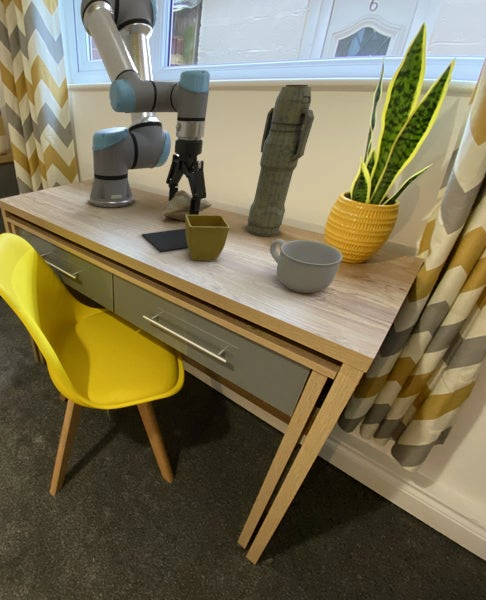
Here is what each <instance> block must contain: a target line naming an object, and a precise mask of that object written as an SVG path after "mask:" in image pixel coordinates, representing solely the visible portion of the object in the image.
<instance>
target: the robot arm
mask: <svg viewBox="0 0 486 600" xmlns="http://www.w3.org/2000/svg"><path fill="white" fill-rule="evenodd" d="M157 15H158V3H157V0H81V3H80V18H81V23H82V25H83V28H84V30H85V32H86V34H88V35H89V36H90V37H91V38H92V40H93V43H94V45H95V47H96V50H97V52H98V54H99V57H100V58H101V61H102V64H103V66H104V67H105V68H104V69H105V70H106V74H107V75H108V77H109V80H110V82H111V84H110V87H109V93H108V94H109V95H108V97H109V100H110V106H111V109H112V110H113V111H114V112H116V113H124V114H130V120H131V124H130V125H129V126H128V128H127V127H126V126H125V127H124V126H118V127H109V128H104V129H99V130H98V131H96V132H94V133H93V135H92V148H91V150H92V161H93V183H92V187H91V191H90V194H89V201H90V202H89V203H90V204H91V205H93V206H96V207H100V208H123V207H126V206H129V205H131V204H133V202H134V195H133V192H132V189H131V185H130V182H129V170H143V169H154V168H160V167H162V166H164V165H165V164H166V163H167V161H168V159H169V157H170V153H171V149H172V148H171V147H172V140H171V135H170V133H169V131H167V130H165V129H163V123H162V121H161V120H159V119H158V117H157V113H176V115H177V117H176V125H175V129H176V130H175V137H177V138H176V139H175V142H174V154H172V157H171V164H170V167H169V171H168V174H167V177H166V180H165V183H166V185H168V189H169V190H168V202H169V201H170V200H172V198H173V196H174V194H175V193H176V192H178V191H179V183H180V182H181V180H182V177H183V176H185V178H186V179H187V181H188V184H189V189H190V192H191V193H190V194H191V195H192V198H191V202H190V212H189V215H200V212H199V210H200V202H201V199H202V200H204V199H207V188H206V181H205V174H204V173H205V172H204V168H205V167H204V165H205V164H204V163H205V161H204V160H198V156H199V155H201V154H202V153H203V144H204V141H203V139H202V138H204V136H205V126H206V117H207V109H208V102H209V94H210V79H211V74H210V72H209V71H208V70H205V69H185V70H182V71H181V73H180V76H179V80H154V79H153V72H152V62H151V54H150V53H151V51H150V44H149V39H150V38H151V36H152V34H153V31H154V30H155V27H156V24H157V20H158V19H157V18H158V17H157Z"/></svg>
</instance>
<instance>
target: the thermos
mask: <svg viewBox="0 0 486 600" xmlns="http://www.w3.org/2000/svg"><path fill="white" fill-rule="evenodd" d="M311 103H312V87H311V86H309V85H308V84H286V85H285V86H282V87H281V89H280V91H279V92H278V95H277V97H276V99H275V102H274V107H271V108H270V110H269V111H268V112H267V115H266V120H265V123H264V124H265V125H264V130H263V136H262V138H261V139H262V140H261V146H260V153H261V157H260V161H259V166H260V170H259V176H258V180H257V183H256V190H255V194H254V199H253V202H251V205H250V208H249V213H248V217H247V226H246V231H247V232H248V233H250V234H252V235H254V236H259V237H276V236H278V235H279V232H280V228H281V226H282V223H283V221H284V216H285V212H286V207H285V203H286V200H287V196H288V193H289V189H290V185H291V181H292V178H293V174H294V170H296V168H297V166H298V163H299V160H300V159H301V158H302V157H303V156H304V154H305V150H306V146H307V144H308V140H309V136H310V134H311V130H312V127H313V123H314V120H315V115H314V112H313V110H312V109H310V108H311V107H310V106H311Z"/></svg>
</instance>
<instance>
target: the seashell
mask: <svg viewBox="0 0 486 600" xmlns="http://www.w3.org/2000/svg"><path fill="white" fill-rule="evenodd" d="M191 198H192V194H189V193H188V192H187V191H185V190H184V189H183V190H182V189H181V190H178V192H176V193H175V194H174V196H173V198H172V200H170V201H169V200H168V202H166V204H165V205H164V208H163V212H162V214H163V215H165V216H167V217H169V218H171V219H173V220H177V221H180V222H182V221H184V222H185V215H189V212H190V202H191ZM212 206H213V204H212V203H210V202H209V201H207V200H205V199H201V202H200V210H199V213H202V212H203V211H205V210H207V209H208V208H211V207H212Z"/></svg>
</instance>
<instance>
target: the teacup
mask: <svg viewBox="0 0 486 600" xmlns="http://www.w3.org/2000/svg"><path fill="white" fill-rule="evenodd" d="M277 245H279V246H280V249H279V250H280V251H279V253H278V250H277ZM269 253H270V256H271V258H273V260H274V261H275V263H276V270H275V271H276V276H277V278H278V280H279V281H280V282H281V283H282V285H284V287H285V288H287V289H289V290H290V291H293V292H295V293H300V294H312V293H316V292H320V291H323V290H325V289H327V288H328V287H330V285H331V284H332V282H333V281H334V279H335V277H336V275H337V272H338V270H339V267H340V264H341V262H342V261H343V258H344V256H343V253H342V252H341V251H340V249H337V248H336V247H334V246H332V245H330V244H327V243H325V242H321V241H317V240H311V239H310V240H309V239H293V240H289V241H286V240H284V239H282V238H278V239H277V238H276V239H274V240H273V241H272V242H271V243H270V246H269Z"/></svg>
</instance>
